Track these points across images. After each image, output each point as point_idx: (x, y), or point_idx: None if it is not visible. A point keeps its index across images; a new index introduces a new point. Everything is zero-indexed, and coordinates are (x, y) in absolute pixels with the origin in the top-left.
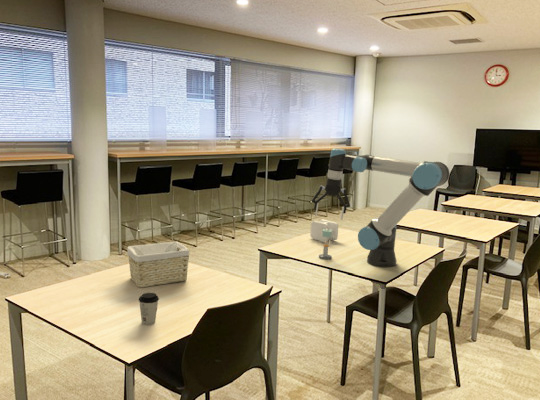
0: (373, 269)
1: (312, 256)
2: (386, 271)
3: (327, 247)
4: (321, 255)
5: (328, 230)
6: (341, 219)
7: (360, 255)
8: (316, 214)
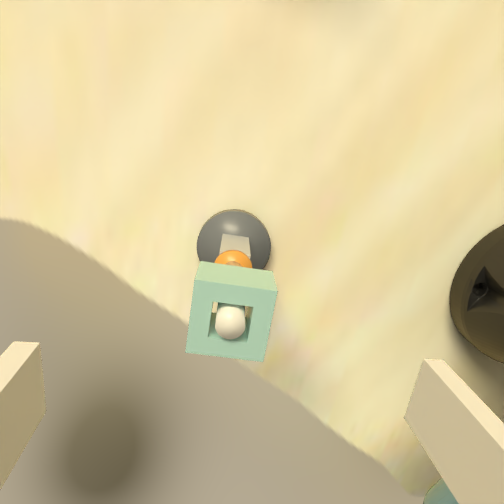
0: None
1: (162, 228)
2: None
3: None
4: (212, 241)
5: (242, 331)
6: (411, 418)
7: (461, 163)
8: (23, 433)
